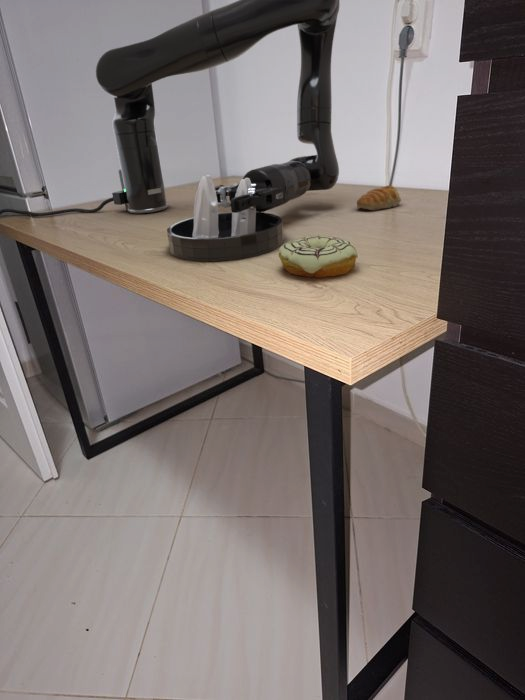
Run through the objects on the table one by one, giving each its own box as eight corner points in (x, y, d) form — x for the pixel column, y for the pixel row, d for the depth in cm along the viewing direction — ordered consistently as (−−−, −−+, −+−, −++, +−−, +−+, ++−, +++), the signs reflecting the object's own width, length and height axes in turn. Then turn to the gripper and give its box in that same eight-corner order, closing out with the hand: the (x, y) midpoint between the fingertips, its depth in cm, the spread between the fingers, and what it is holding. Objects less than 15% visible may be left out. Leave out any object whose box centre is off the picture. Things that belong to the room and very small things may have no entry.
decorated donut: (313, 286, 63) (312, 258, 62) (265, 269, 72) (263, 243, 70) (371, 267, 68) (372, 240, 67) (321, 253, 77) (320, 228, 75)
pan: (146, 254, 84) (142, 233, 82) (218, 227, 98) (216, 209, 96) (238, 267, 73) (235, 243, 72) (304, 235, 87) (303, 215, 86)
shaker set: (195, 250, 82) (185, 180, 77) (188, 244, 85) (178, 177, 80) (262, 237, 85) (257, 170, 80) (253, 233, 89) (247, 168, 84)
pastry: (373, 213, 99) (374, 193, 97) (348, 209, 103) (348, 190, 102) (403, 204, 104) (404, 185, 102) (377, 202, 108) (378, 183, 107)
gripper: (237, 165, 95) (178, 180, 83) (303, 166, 87) (248, 182, 75) (241, 205, 98) (185, 225, 86) (304, 209, 90) (252, 231, 79)
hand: (214, 205), depth 81 cm, fingers closed on shaker set, 7 cm apart
